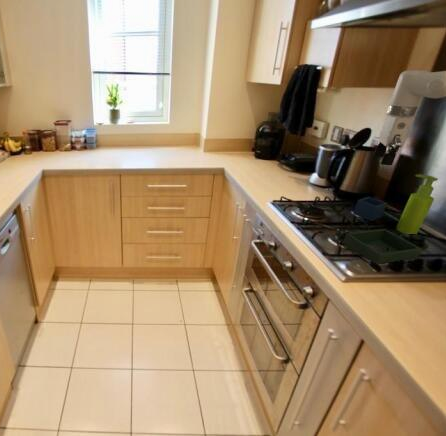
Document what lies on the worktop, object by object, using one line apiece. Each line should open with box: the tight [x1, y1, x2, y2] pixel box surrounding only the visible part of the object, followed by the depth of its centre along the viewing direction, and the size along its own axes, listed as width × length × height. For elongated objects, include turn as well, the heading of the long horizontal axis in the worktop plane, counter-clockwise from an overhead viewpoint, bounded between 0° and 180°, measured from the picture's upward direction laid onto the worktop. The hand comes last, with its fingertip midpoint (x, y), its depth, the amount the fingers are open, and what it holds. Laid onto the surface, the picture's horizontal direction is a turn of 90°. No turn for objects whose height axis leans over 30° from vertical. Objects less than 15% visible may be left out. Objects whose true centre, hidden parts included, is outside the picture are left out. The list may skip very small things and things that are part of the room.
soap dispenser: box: [395, 173, 439, 235], centre depth 107 cm, size 6×7×20 cm
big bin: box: [342, 228, 423, 264], centre depth 99 cm, size 14×12×4 cm
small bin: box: [352, 196, 388, 222], centre depth 120 cm, size 7×7×6 cm
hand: (381, 160), depth 113 cm, fingers open, 9 cm apart
